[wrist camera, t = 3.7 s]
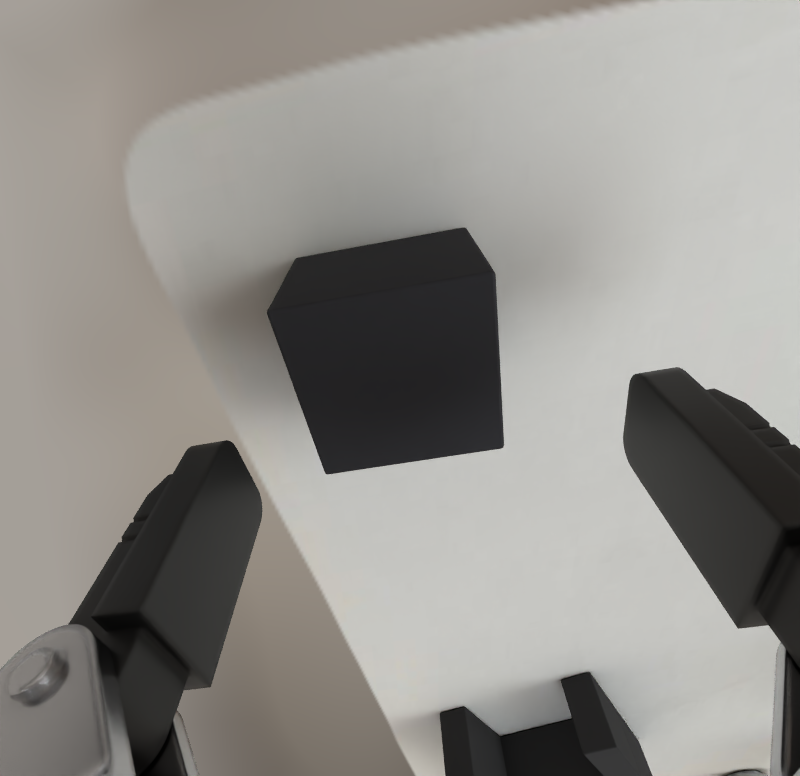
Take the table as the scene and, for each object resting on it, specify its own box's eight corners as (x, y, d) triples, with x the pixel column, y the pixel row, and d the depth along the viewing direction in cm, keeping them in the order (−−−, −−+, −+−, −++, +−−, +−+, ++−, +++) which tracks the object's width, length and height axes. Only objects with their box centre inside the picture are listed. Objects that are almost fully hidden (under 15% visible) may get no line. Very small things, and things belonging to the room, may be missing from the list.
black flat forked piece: (439, 713, 31) (446, 786, 28) (589, 671, 29) (617, 747, 25) (511, 769, 38) (524, 833, 35) (638, 740, 36) (665, 807, 32)
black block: (336, 397, 16) (325, 476, 13) (294, 257, 13) (265, 311, 10) (478, 374, 16) (504, 449, 12) (466, 226, 13) (495, 271, 10)
